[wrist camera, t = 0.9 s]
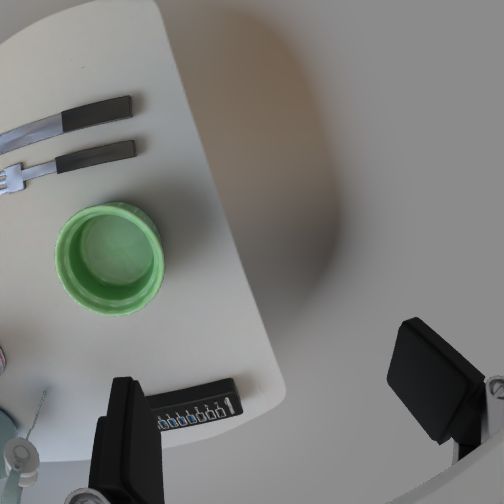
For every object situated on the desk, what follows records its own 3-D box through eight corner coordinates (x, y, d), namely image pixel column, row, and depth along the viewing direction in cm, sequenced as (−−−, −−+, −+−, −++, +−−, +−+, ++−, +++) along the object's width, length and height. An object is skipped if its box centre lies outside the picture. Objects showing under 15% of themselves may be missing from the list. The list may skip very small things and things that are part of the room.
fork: (-9, 173, 19) (-14, 174, 19) (134, 133, 22) (132, 133, 21) (-5, 197, 20) (-10, 199, 19) (137, 162, 23) (135, 163, 22)
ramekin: (163, 190, 24) (158, 199, 20) (172, 288, 27) (171, 313, 23) (64, 201, 22) (44, 212, 18) (82, 294, 26) (69, 319, 22)
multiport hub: (117, 401, 31) (115, 415, 29) (232, 377, 33) (235, 391, 30) (132, 422, 32) (132, 436, 30) (240, 400, 34) (244, 414, 32)
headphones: (35, 365, 27) (-16, 507, 9) (63, 380, 28) (26, 528, 10) (28, 402, 28) (-7, 523, 10) (54, 415, 30) (28, 539, 12)
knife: (-5, 137, 18) (-11, 138, 18) (131, 96, 21) (129, 95, 20) (-3, 156, 19) (-9, 157, 18) (132, 117, 22) (130, 116, 21)
